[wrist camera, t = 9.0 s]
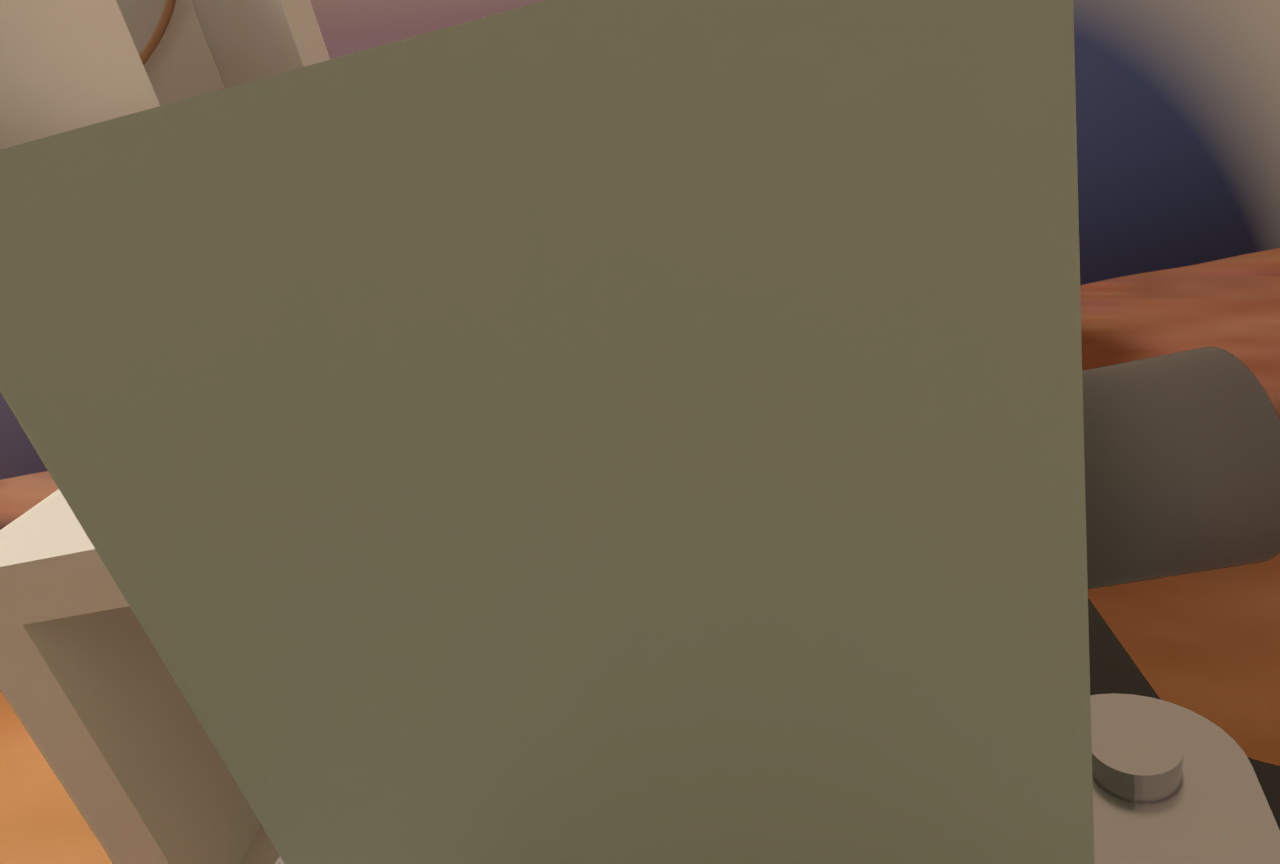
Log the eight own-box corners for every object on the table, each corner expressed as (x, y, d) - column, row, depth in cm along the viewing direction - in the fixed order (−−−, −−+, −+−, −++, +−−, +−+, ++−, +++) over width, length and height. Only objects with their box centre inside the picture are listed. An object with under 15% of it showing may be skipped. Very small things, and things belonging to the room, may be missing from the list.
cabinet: (98, 1910, 12) (-1071, 1285, 6) (446, 819, 28) (246, 357, 22) (1294, 1984, 10) (1527, 1109, 3) (915, 758, 26) (840, 226, 20)
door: (708, 1567, 8) (-129, 183, 3) (700, 946, 14) (412, 62, 8) (1234, 1566, 8) (1513, -264, 2) (1006, 914, 13) (916, -74, 7)
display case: (172, 731, 36) (-413, -302, 23) (389, 591, 43) (34, -278, 29) (292, 858, 28) (-499, -617, 15) (537, 662, 35) (142, -487, 21)
